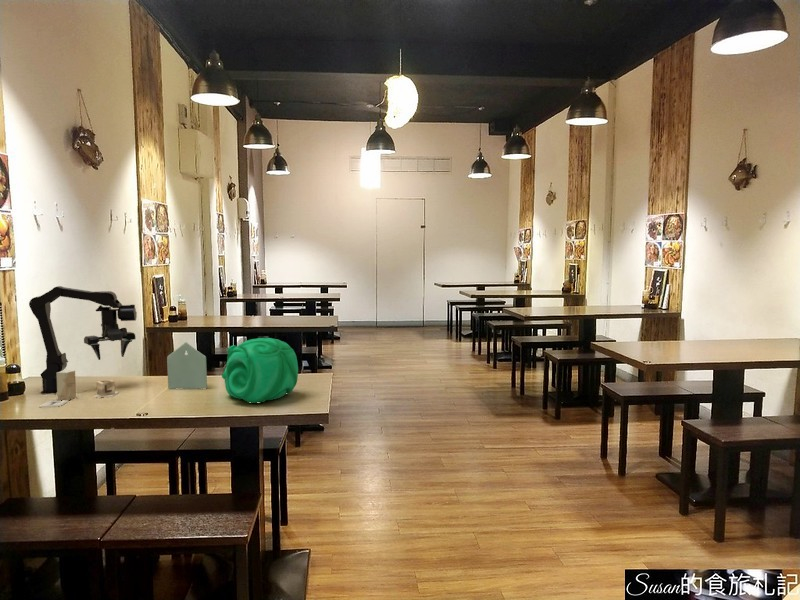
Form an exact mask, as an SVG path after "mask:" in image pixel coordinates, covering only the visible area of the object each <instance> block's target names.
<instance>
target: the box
mask: <svg viewBox="0 0 800 600" xmlns="http://www.w3.org/2000/svg"><path fill="white" fill-rule="evenodd" d="M76 380H77V379H76V370H73V369H64V370H63V371H60V372H57V393H56V394H57V396H56V397H57V401H61V400H68V401H70V399H71V400H74V399H77V384H76ZM73 398H74V399H73Z"/></svg>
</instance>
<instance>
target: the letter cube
mask: <svg viewBox="0 0 800 600" xmlns="http://www.w3.org/2000/svg"><path fill="white" fill-rule="evenodd" d="M115 392H116V383H115V380H113V379H105V380H104V379H103V380H98V381H96V395H97V394H98V395H101V396H105V395H111V394H115Z"/></svg>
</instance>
